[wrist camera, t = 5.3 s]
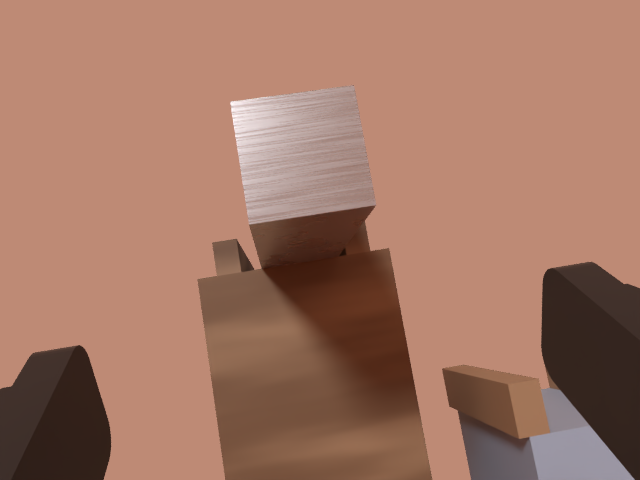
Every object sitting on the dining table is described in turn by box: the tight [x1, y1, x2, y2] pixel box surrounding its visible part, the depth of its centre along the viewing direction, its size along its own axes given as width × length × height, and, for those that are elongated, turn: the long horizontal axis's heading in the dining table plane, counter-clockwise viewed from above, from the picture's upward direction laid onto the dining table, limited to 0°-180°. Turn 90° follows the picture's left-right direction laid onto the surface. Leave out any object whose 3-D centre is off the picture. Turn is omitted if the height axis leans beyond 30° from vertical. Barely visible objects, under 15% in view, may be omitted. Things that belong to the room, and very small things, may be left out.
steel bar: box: [230, 85, 376, 269], centre depth 27 cm, size 24×3×3 cm, turn 6°
